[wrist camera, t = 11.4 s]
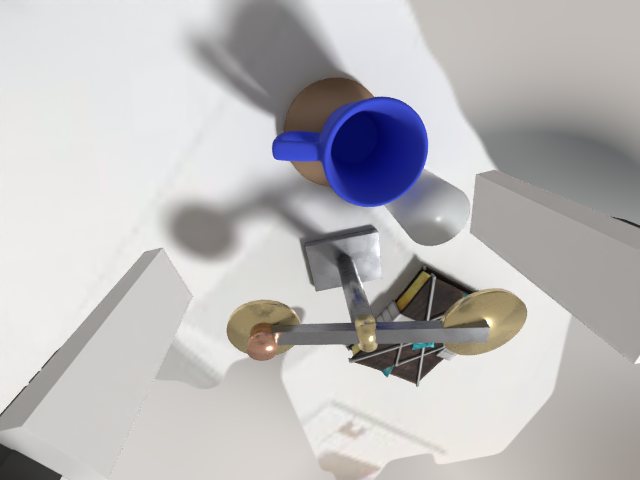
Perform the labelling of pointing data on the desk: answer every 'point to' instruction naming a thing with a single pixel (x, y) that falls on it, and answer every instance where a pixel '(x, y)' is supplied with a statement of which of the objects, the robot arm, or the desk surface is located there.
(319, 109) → the dish
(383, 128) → the mug
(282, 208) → the desk surface
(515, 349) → the desk surface
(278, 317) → the balance
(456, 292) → the book
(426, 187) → the white cylinder
